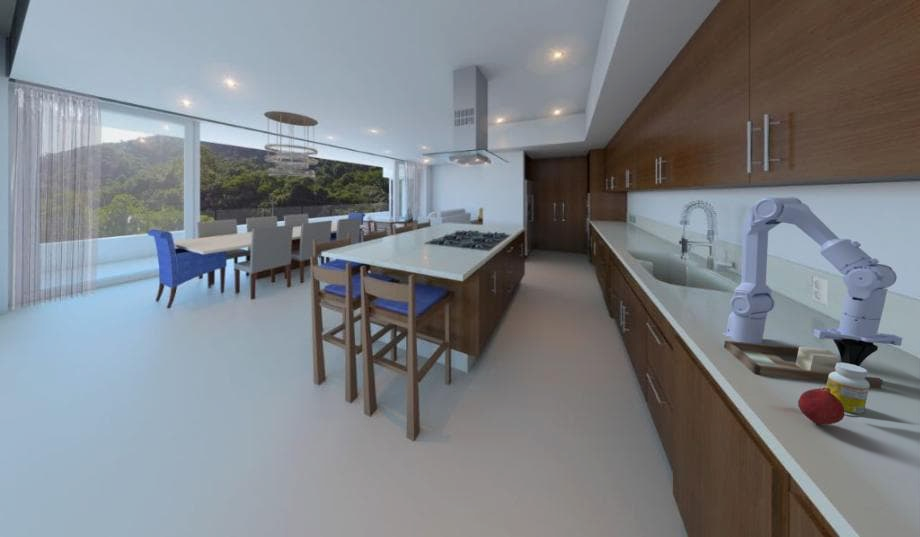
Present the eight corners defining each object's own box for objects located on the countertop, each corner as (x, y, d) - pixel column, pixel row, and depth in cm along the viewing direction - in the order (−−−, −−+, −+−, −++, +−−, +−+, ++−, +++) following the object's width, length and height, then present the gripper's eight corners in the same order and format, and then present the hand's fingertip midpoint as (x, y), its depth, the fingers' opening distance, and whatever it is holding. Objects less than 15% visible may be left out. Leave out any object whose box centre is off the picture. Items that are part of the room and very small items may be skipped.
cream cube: (795, 364, 82) (799, 346, 82) (820, 367, 81) (824, 348, 80) (809, 374, 78) (813, 355, 77) (836, 377, 76) (840, 357, 75)
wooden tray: (723, 350, 94) (725, 340, 93) (825, 360, 86) (827, 350, 86) (753, 377, 79) (755, 366, 78) (879, 392, 72) (882, 380, 71)
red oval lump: (803, 428, 60) (810, 390, 59) (790, 411, 65) (796, 375, 64) (847, 438, 58) (856, 398, 56) (830, 419, 63) (838, 382, 61)
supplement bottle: (865, 422, 62) (877, 376, 60) (824, 411, 65) (834, 368, 64) (858, 408, 66) (868, 366, 64) (820, 399, 69) (828, 358, 68)
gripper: (834, 318, 73) (822, 372, 76) (921, 324, 69) (906, 381, 71) (811, 309, 80) (801, 359, 82) (890, 314, 75) (877, 366, 78)
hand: (848, 368), depth 77 cm, fingers closed
